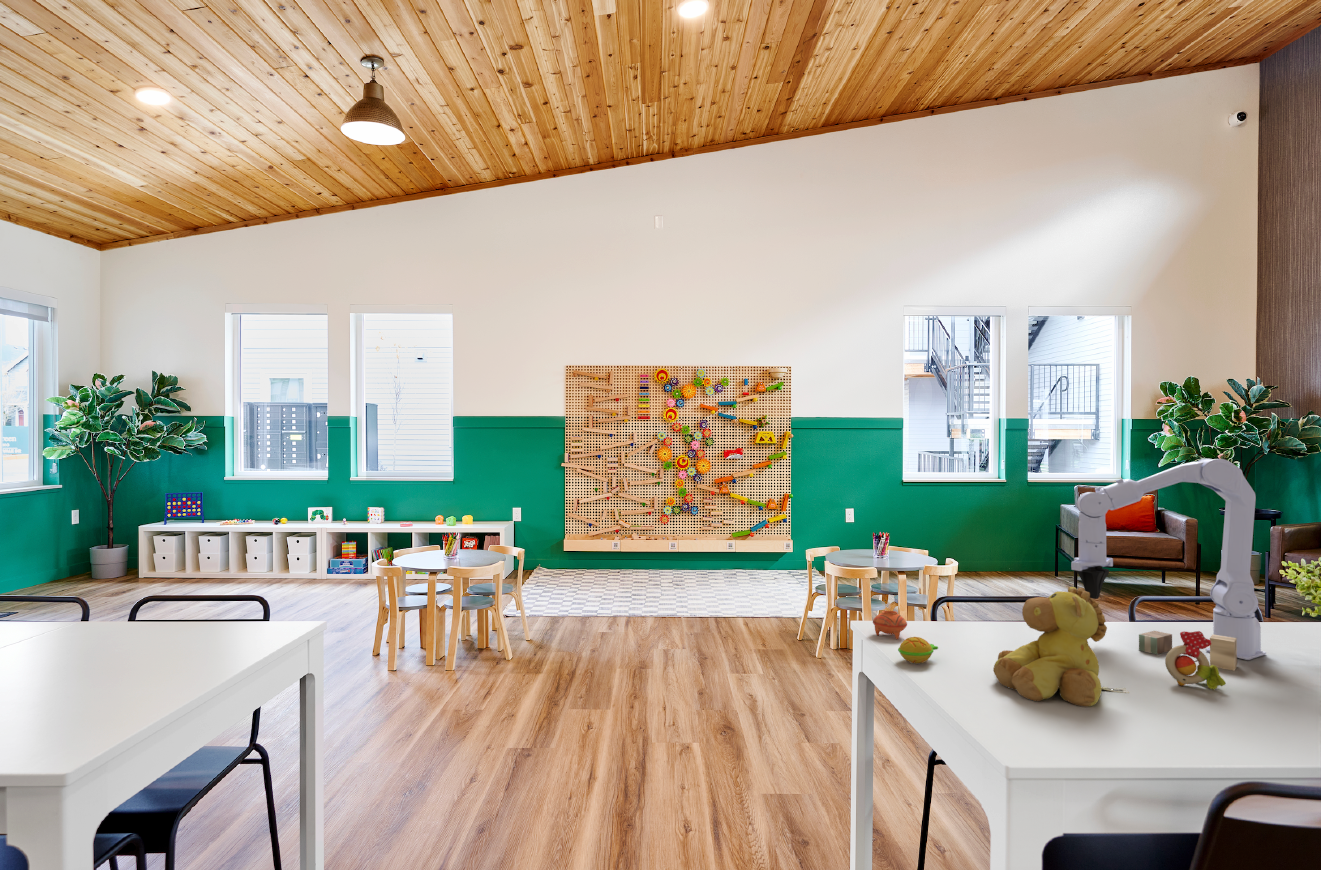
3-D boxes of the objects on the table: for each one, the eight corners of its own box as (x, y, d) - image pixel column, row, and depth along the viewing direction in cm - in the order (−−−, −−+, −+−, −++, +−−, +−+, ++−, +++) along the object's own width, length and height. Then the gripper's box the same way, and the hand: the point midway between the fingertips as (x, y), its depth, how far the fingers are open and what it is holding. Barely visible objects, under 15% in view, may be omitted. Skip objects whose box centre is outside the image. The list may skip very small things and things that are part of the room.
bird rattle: (1192, 702, 130) (1240, 685, 129) (1165, 647, 131) (1213, 629, 130) (1172, 691, 136) (1218, 674, 135) (1147, 638, 137) (1192, 621, 136)
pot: (876, 639, 163) (874, 610, 165) (871, 638, 171) (870, 610, 173) (911, 639, 162) (908, 610, 164) (905, 639, 170) (903, 610, 171)
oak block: (1212, 662, 148) (1212, 634, 149) (1236, 666, 146) (1236, 637, 146) (1210, 666, 146) (1209, 637, 146) (1234, 670, 143) (1234, 641, 143)
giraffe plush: (975, 671, 141) (974, 578, 142) (1087, 671, 142) (1087, 578, 142) (1032, 709, 121) (1031, 600, 121) (1163, 708, 122) (1162, 600, 122)
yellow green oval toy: (891, 662, 146) (891, 637, 147) (912, 653, 153) (912, 629, 154) (923, 670, 142) (923, 644, 142) (943, 660, 149) (943, 635, 149)
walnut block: (1138, 650, 157) (1154, 646, 160) (1156, 654, 154) (1172, 649, 157) (1138, 634, 157) (1154, 630, 160) (1156, 638, 154) (1172, 634, 157)
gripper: (1091, 538, 173) (1092, 591, 173) (1058, 541, 166) (1058, 597, 166) (1121, 541, 167) (1122, 597, 167) (1088, 545, 160) (1089, 603, 160)
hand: (1092, 597), depth 166 cm, fingers closed
